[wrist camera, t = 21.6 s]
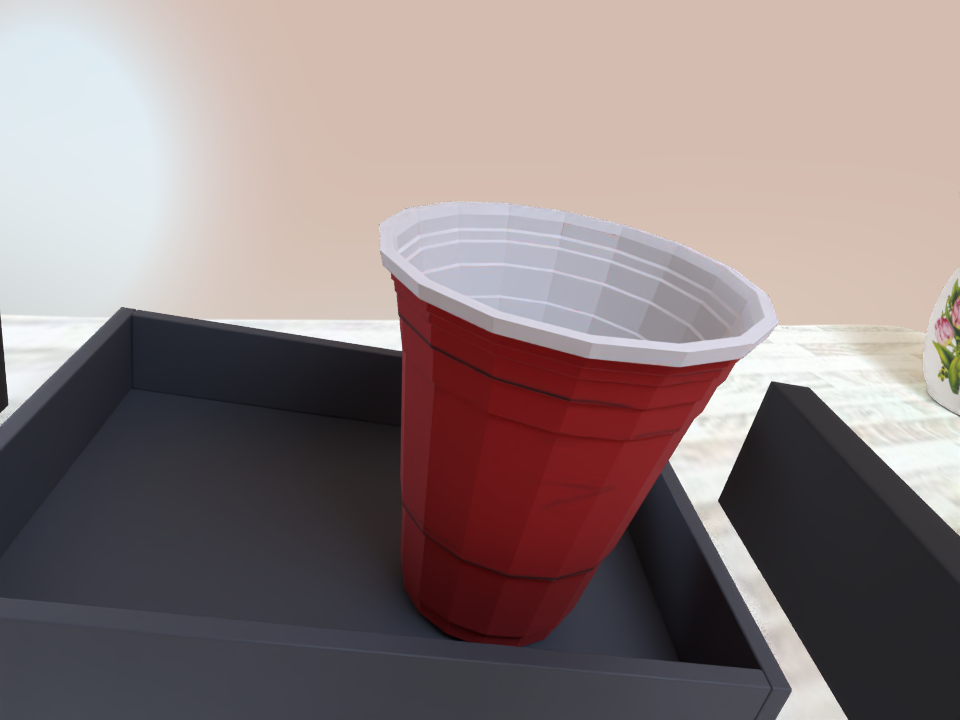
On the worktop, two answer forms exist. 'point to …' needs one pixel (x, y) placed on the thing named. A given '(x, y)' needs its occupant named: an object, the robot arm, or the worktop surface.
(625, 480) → the plastic cup
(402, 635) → the dark grey tray
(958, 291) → the pitcher
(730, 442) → the worktop surface
